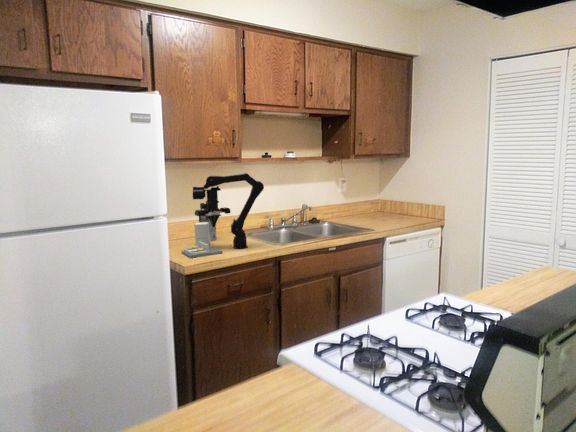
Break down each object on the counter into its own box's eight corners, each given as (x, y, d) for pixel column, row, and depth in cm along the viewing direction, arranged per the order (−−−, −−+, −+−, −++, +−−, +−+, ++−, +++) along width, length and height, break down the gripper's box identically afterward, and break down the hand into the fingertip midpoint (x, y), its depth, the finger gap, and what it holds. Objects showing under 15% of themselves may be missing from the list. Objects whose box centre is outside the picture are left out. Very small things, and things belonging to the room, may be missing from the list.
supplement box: (210, 243, 248) (209, 221, 246) (208, 245, 240) (207, 224, 238) (197, 243, 247) (196, 222, 245) (195, 246, 240) (194, 224, 238)
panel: (200, 248, 228) (199, 241, 227) (208, 252, 218) (208, 244, 218) (183, 250, 223) (183, 243, 223) (192, 255, 213) (191, 247, 213)
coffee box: (199, 239, 258) (197, 213, 255) (207, 238, 263) (206, 212, 260) (209, 241, 252) (208, 215, 250) (217, 239, 257) (216, 213, 254)
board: (212, 248, 233) (212, 242, 232) (222, 253, 222) (222, 246, 221) (181, 253, 223) (181, 246, 223) (190, 258, 212) (190, 251, 212)
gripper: (221, 196, 240) (222, 223, 243) (190, 198, 230) (191, 227, 233) (230, 198, 231) (231, 226, 234) (198, 200, 221) (199, 230, 223)
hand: (213, 227), depth 231 cm, fingers closed
